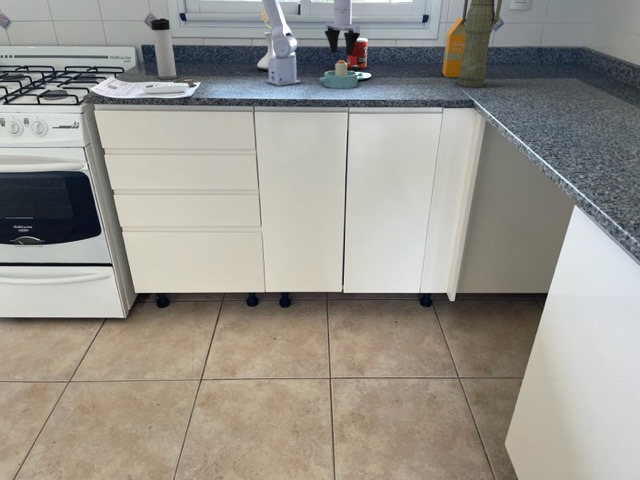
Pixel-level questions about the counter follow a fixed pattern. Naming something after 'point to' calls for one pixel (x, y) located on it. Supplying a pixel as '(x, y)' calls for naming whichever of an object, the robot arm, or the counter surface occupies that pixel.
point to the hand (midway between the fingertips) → (341, 53)
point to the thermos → (477, 41)
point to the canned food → (359, 54)
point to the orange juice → (454, 49)
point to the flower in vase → (270, 54)
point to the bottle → (341, 68)
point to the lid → (364, 75)
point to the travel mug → (163, 48)
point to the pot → (340, 79)
